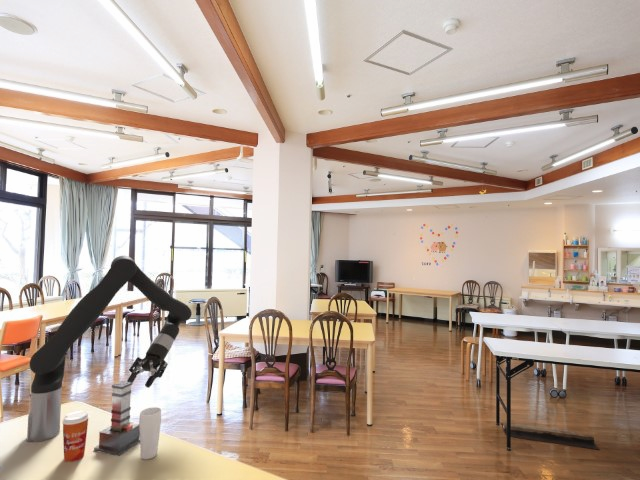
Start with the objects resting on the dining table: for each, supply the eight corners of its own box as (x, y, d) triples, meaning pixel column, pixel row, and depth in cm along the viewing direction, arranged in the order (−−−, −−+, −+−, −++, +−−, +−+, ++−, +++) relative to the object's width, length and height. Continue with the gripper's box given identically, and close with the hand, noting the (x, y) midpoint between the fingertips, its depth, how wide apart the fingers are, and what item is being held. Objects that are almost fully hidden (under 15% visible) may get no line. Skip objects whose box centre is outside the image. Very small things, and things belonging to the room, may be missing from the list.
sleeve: (119, 456, 119) (119, 434, 119) (94, 450, 122) (94, 429, 122) (143, 439, 129) (144, 420, 129) (120, 434, 132) (120, 415, 132)
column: (120, 434, 123) (122, 387, 123) (109, 432, 124) (111, 385, 125) (130, 428, 127) (132, 382, 128) (120, 426, 128) (122, 380, 129)
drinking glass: (151, 462, 115) (152, 416, 116) (133, 460, 117) (135, 414, 117) (164, 451, 122) (165, 408, 122) (147, 449, 123) (148, 406, 124)
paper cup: (57, 466, 112) (60, 422, 113) (62, 454, 119) (64, 412, 120) (86, 460, 116) (88, 417, 117) (89, 448, 123) (91, 408, 123)
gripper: (141, 340, 144) (117, 378, 133) (170, 344, 140) (147, 382, 128) (151, 350, 149) (128, 387, 137) (179, 353, 145) (157, 392, 133)
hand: (137, 385), depth 133 cm, fingers open, 8 cm apart
